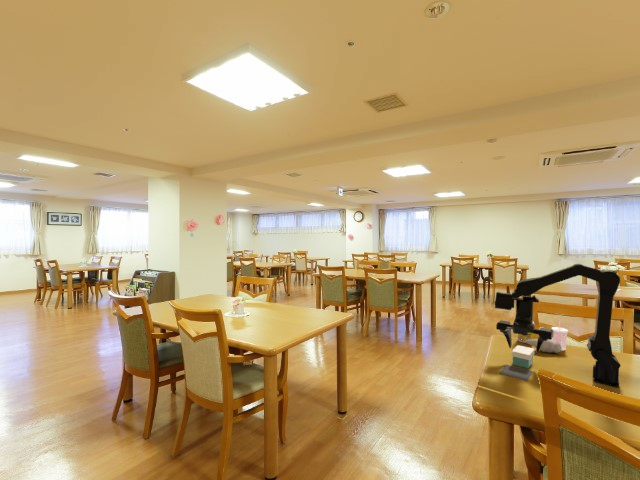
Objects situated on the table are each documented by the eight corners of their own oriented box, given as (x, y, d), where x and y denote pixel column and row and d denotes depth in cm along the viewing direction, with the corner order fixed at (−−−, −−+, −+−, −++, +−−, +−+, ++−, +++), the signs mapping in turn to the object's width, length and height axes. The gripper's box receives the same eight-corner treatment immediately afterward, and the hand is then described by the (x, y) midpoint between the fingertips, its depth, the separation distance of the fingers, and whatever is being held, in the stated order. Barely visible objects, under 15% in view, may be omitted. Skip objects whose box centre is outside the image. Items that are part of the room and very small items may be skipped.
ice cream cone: (520, 349, 147) (558, 357, 143) (526, 344, 142) (565, 353, 138) (519, 336, 150) (556, 344, 147) (525, 331, 145) (563, 339, 142)
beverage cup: (553, 350, 146) (554, 319, 146) (548, 345, 152) (549, 315, 152) (569, 351, 144) (571, 320, 144) (564, 346, 150) (565, 316, 150)
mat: (533, 372, 123) (533, 371, 123) (527, 382, 115) (527, 381, 115) (506, 365, 129) (506, 364, 129) (498, 374, 121) (498, 373, 121)
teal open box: (532, 363, 131) (533, 353, 131) (528, 370, 125) (528, 359, 125) (517, 359, 135) (517, 350, 135) (512, 365, 129) (512, 356, 129)
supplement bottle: (516, 341, 157) (516, 315, 157) (519, 338, 162) (520, 312, 161) (532, 345, 152) (533, 317, 152) (535, 341, 157) (536, 315, 157)
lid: (534, 353, 131) (534, 348, 131) (529, 360, 125) (529, 355, 125) (517, 349, 135) (517, 345, 135) (511, 356, 129) (511, 351, 129)
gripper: (492, 311, 130) (491, 350, 130) (549, 320, 117) (548, 363, 118) (500, 306, 138) (499, 343, 139) (554, 314, 125) (553, 354, 126)
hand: (523, 350), depth 130 cm, fingers open, 9 cm apart
